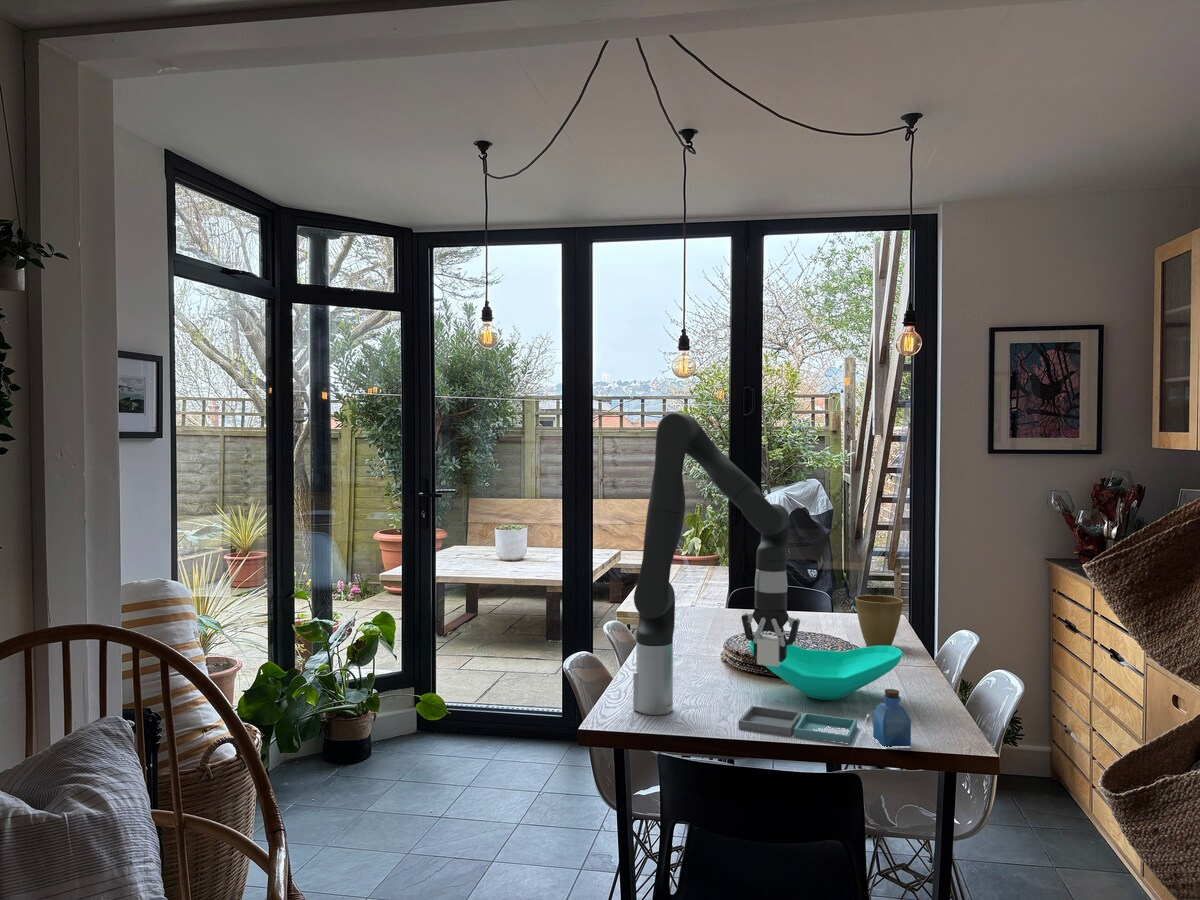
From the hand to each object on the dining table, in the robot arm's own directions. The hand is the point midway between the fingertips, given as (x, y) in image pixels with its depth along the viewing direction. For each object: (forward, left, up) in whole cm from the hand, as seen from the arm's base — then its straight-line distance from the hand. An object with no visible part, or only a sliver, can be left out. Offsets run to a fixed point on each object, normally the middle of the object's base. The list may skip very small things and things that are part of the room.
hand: (770, 659), depth 202 cm
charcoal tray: (0, 0, -16) cm, 16 cm away
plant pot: (+15, +90, -16) cm, 93 cm away
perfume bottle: (+28, 0, -16) cm, 32 cm away
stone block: (0, 0, -1) cm, 1 cm away
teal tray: (+13, 0, -16) cm, 21 cm away
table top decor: (+8, +29, -16) cm, 34 cm away
